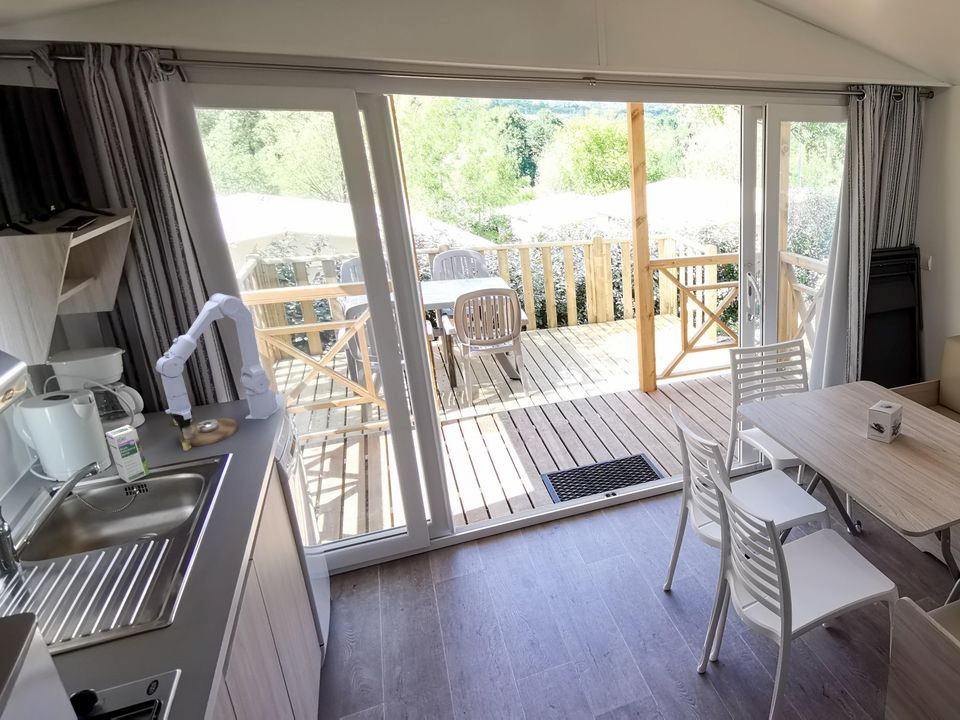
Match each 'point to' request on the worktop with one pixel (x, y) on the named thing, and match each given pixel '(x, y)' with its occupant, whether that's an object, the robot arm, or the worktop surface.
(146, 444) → the worktop surface
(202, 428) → the metal cover
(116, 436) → the syrup box
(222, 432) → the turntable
